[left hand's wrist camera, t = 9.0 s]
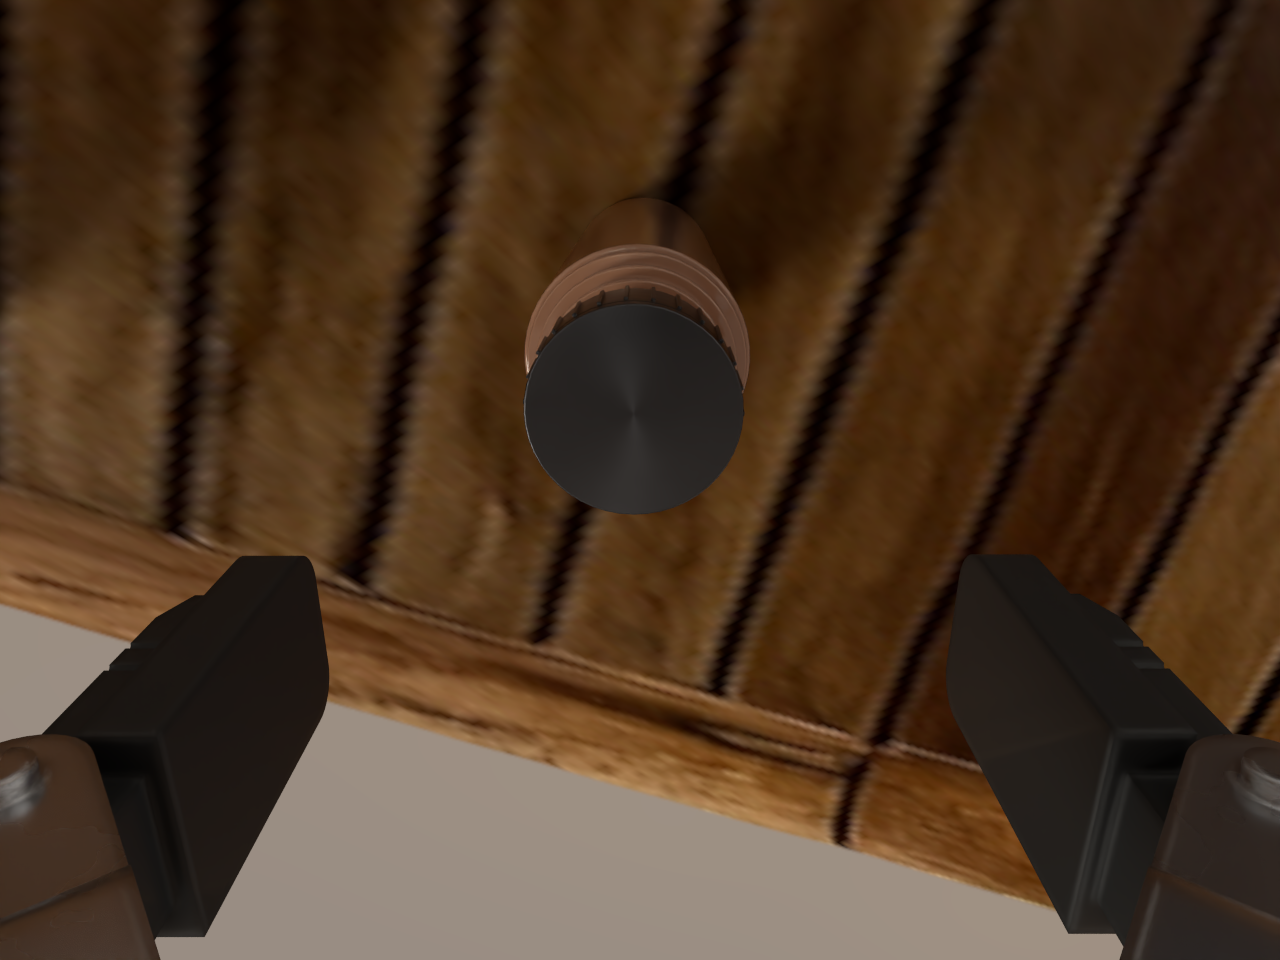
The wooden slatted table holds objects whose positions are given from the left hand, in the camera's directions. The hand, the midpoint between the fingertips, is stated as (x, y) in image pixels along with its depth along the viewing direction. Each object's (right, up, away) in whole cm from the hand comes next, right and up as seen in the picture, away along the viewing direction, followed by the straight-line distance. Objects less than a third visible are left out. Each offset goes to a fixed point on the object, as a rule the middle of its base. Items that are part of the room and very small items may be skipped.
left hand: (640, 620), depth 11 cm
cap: (0, +3, +7) cm, 8 cm away
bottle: (0, +10, +25) cm, 27 cm away
